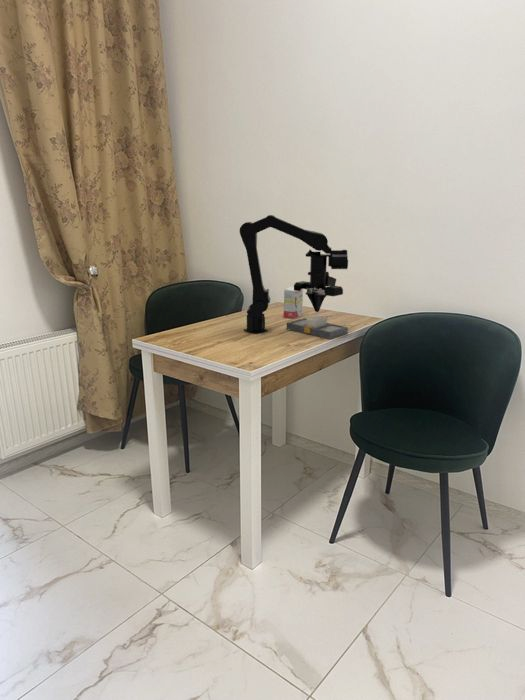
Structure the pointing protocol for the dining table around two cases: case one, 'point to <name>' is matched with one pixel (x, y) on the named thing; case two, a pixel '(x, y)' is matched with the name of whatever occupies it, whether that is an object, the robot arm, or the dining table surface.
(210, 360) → the dining table surface
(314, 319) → the light grey rectangular block
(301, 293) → the ink box
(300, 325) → the frame
